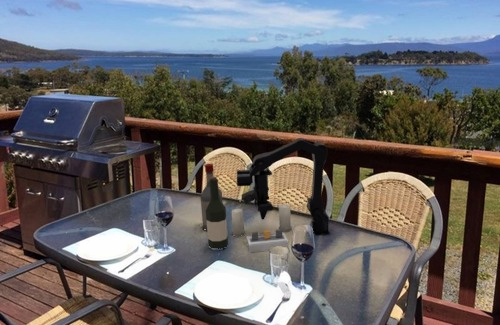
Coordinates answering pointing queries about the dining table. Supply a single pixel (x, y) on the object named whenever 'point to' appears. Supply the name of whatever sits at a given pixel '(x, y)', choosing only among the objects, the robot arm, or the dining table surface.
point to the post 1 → (237, 222)
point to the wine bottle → (216, 218)
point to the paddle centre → (267, 234)
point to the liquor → (207, 194)
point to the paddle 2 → (278, 233)
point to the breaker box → (266, 242)
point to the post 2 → (284, 218)
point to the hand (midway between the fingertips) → (262, 219)
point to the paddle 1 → (255, 235)
